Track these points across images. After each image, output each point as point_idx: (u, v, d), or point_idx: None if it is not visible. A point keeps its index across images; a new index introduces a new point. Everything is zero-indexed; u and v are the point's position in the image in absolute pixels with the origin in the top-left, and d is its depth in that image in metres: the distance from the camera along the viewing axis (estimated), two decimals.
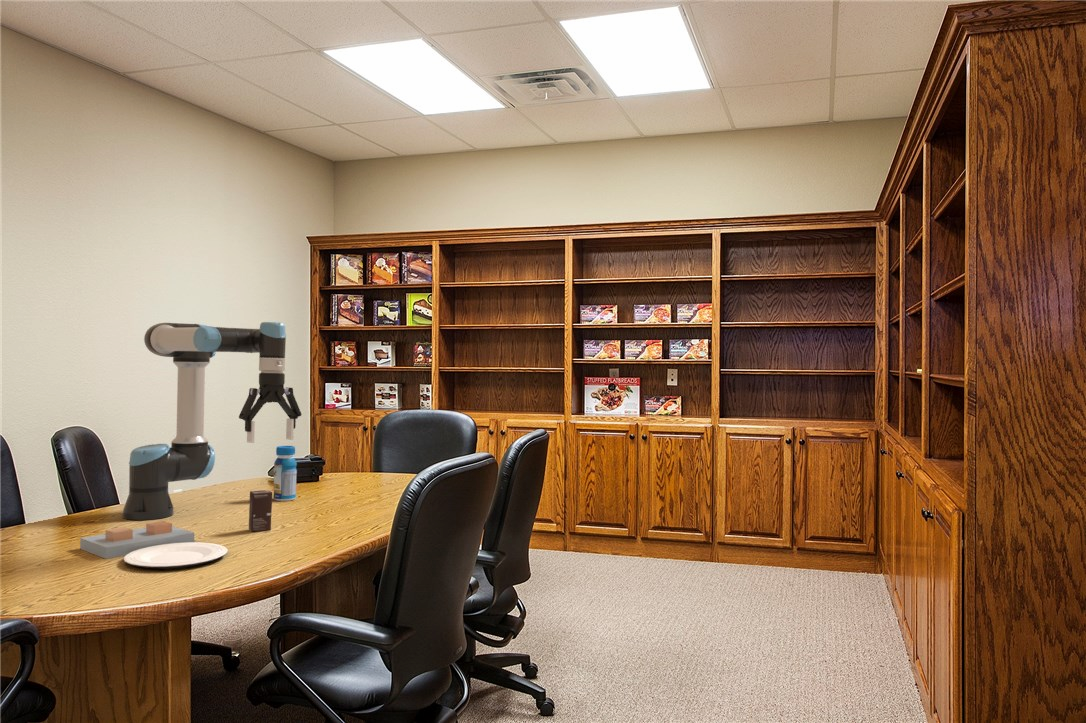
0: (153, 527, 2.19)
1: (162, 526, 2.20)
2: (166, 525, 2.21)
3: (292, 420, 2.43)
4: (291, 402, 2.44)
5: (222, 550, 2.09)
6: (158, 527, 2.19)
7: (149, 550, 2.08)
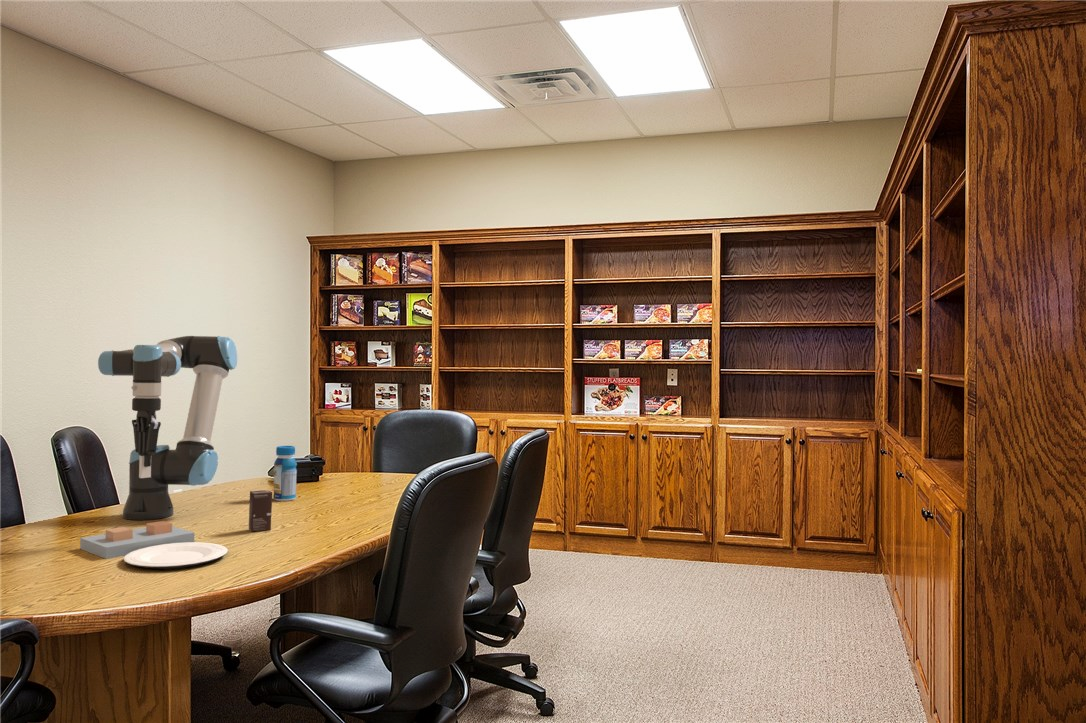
0: (153, 527, 2.19)
1: (162, 526, 2.20)
2: (166, 525, 2.21)
3: (141, 457, 2.26)
4: None
5: (222, 550, 2.09)
6: (158, 527, 2.19)
7: (149, 550, 2.08)
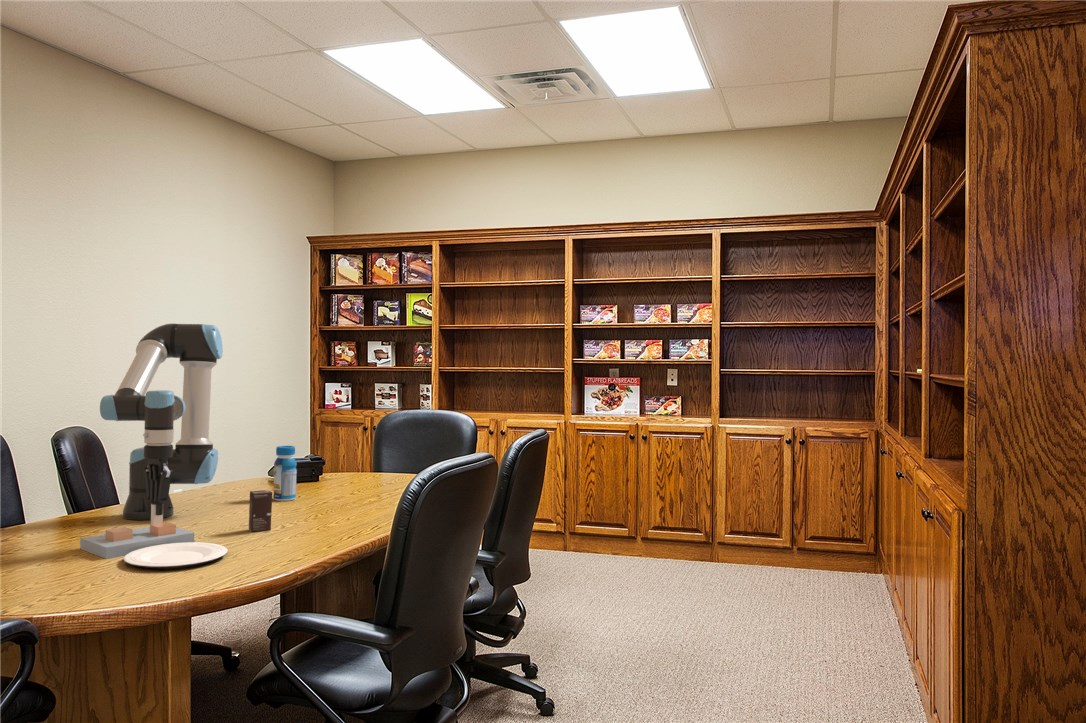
0: (157, 528, 2.17)
1: (166, 527, 2.19)
2: (170, 526, 2.20)
3: (153, 505, 2.21)
4: None
5: (222, 550, 2.09)
6: (162, 528, 2.18)
7: (149, 550, 2.08)
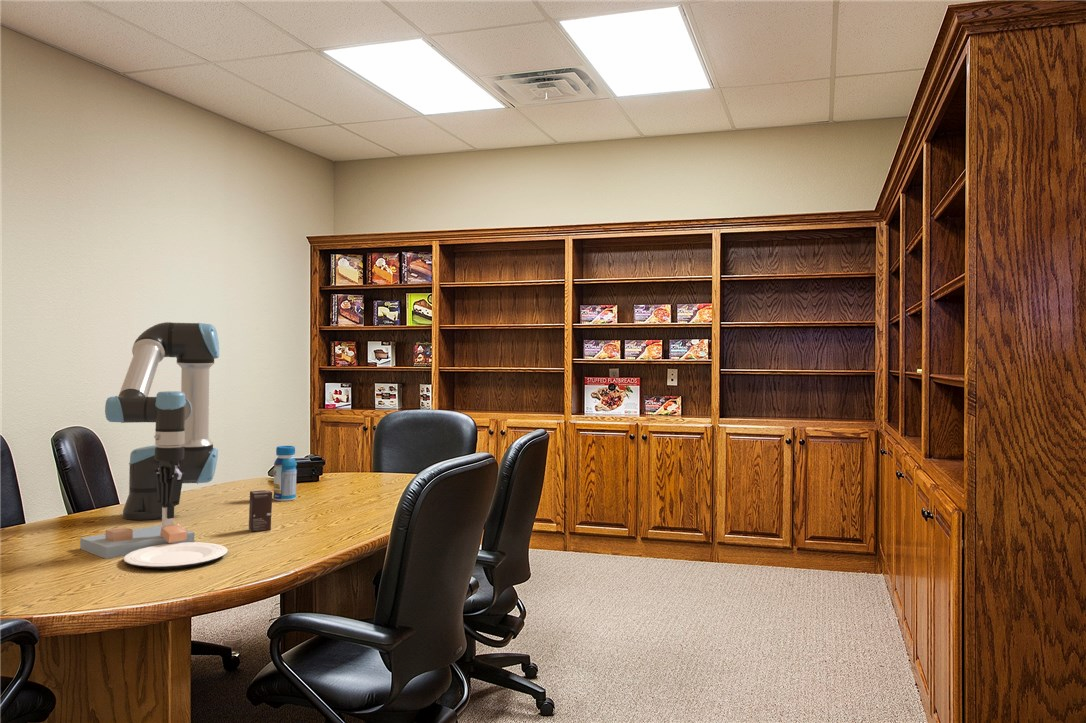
0: (168, 535, 2.13)
1: (177, 534, 2.15)
2: (181, 533, 2.16)
3: (164, 508, 2.17)
4: None
5: (222, 550, 2.09)
6: (173, 535, 2.14)
7: (149, 550, 2.08)
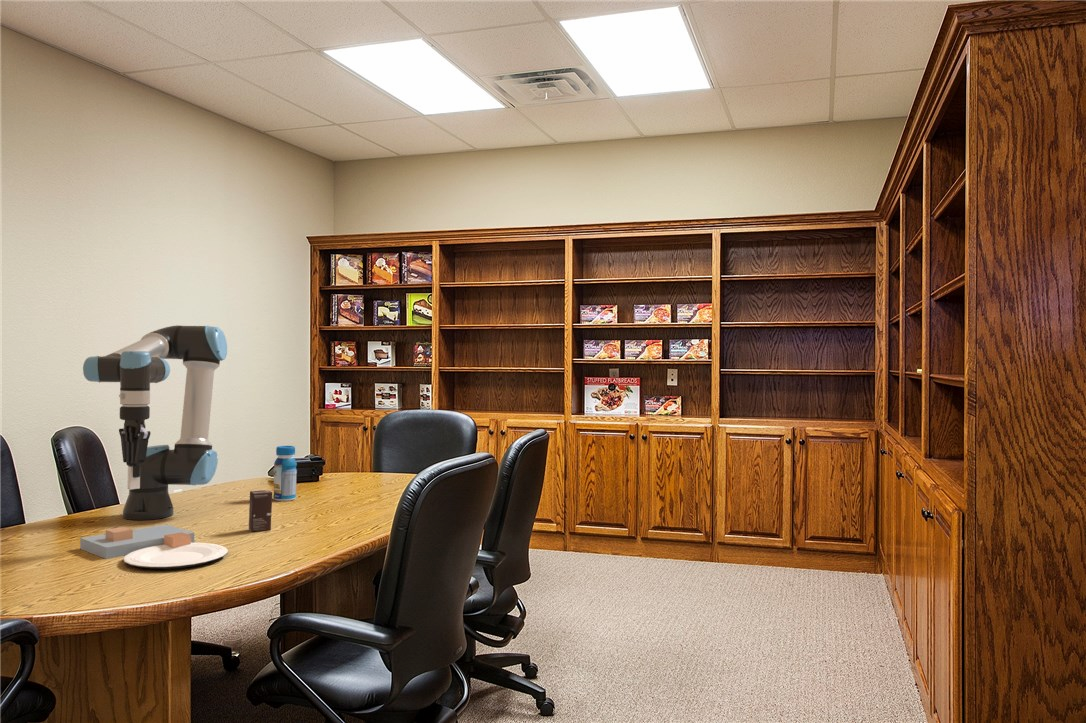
0: (171, 539, 2.12)
1: (181, 538, 2.13)
2: (185, 537, 2.14)
3: (129, 467, 2.18)
4: None
5: (222, 550, 2.08)
6: (177, 539, 2.12)
7: (149, 550, 2.08)
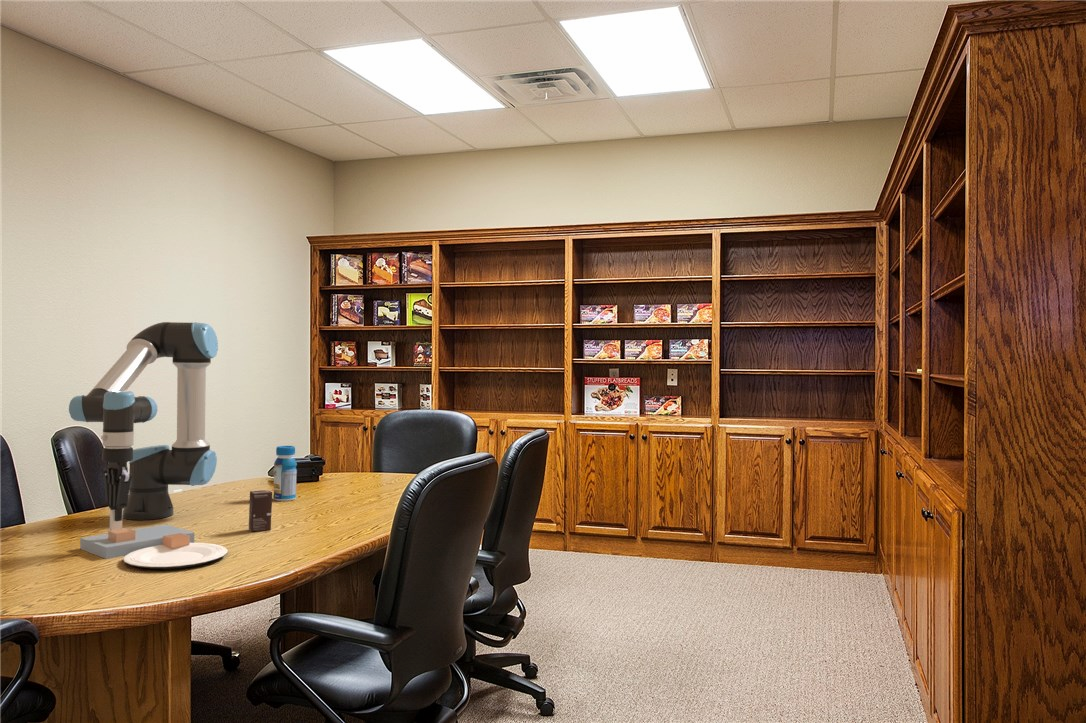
0: (170, 540, 2.11)
1: (179, 539, 2.12)
2: (183, 537, 2.13)
3: (111, 511, 2.13)
4: None
5: (222, 550, 2.09)
6: (175, 540, 2.11)
7: (149, 550, 2.08)
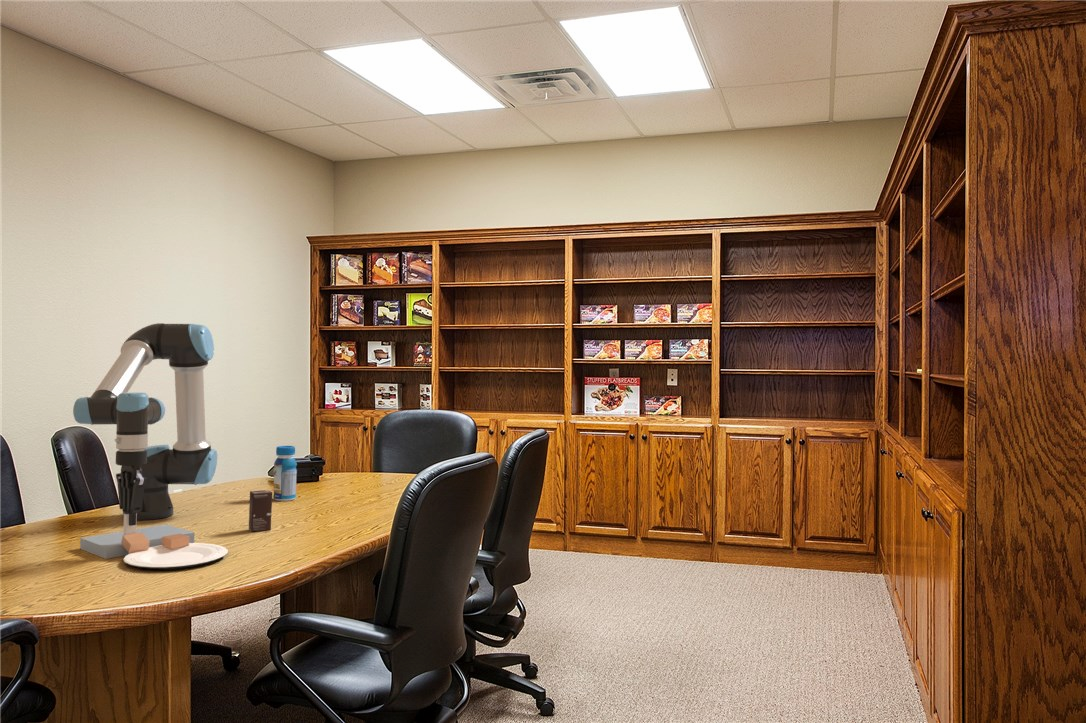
0: (170, 540, 2.10)
1: (179, 539, 2.12)
2: (183, 538, 2.13)
3: (125, 515, 2.08)
4: None
5: (222, 551, 2.09)
6: (175, 540, 2.11)
7: (149, 550, 2.08)
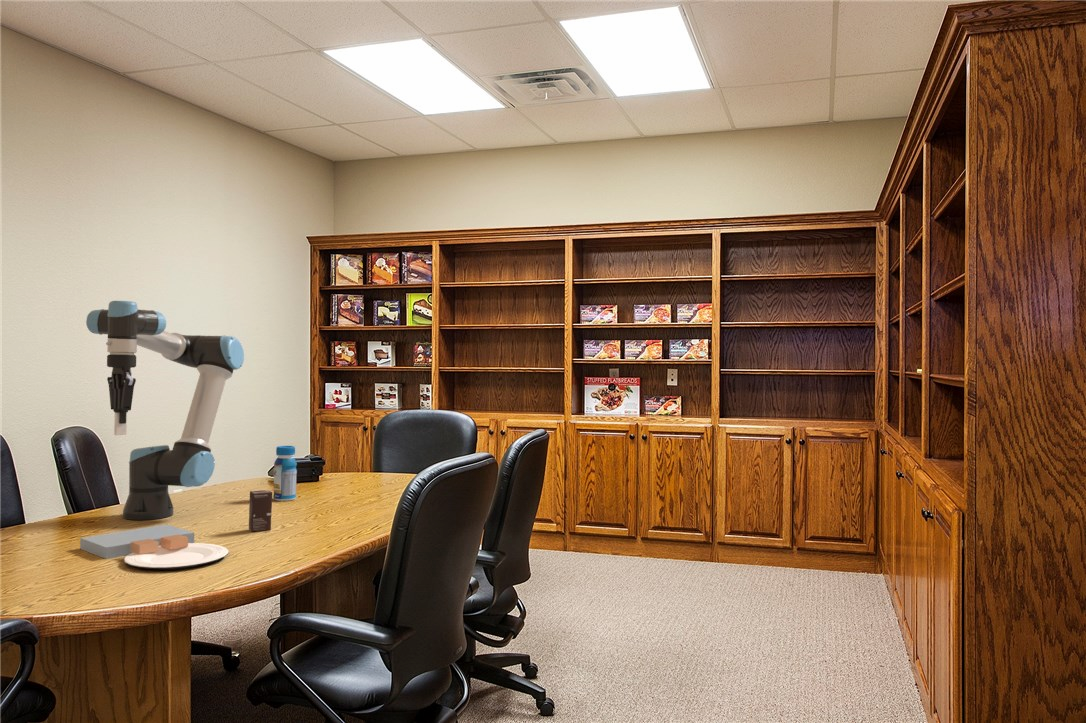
0: (169, 541, 2.09)
1: (178, 540, 2.11)
2: (182, 539, 2.12)
3: (116, 414, 2.24)
4: None
5: (223, 551, 2.08)
6: (174, 541, 2.10)
7: None
